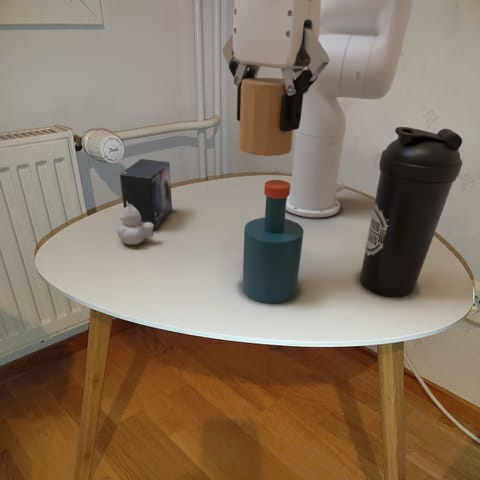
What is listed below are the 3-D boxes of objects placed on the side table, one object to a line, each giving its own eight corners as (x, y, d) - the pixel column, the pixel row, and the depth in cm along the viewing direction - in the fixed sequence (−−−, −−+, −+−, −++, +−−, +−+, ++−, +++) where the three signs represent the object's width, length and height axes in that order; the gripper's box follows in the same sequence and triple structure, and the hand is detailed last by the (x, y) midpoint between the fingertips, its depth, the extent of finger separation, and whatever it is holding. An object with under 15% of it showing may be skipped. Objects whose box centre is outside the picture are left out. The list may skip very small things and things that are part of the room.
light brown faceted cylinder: (264, 140, 60) (267, 76, 55) (301, 150, 56) (308, 82, 52) (229, 147, 56) (230, 79, 52) (266, 158, 52) (271, 86, 48)
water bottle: (349, 266, 72) (379, 120, 58) (409, 268, 71) (453, 123, 58) (361, 299, 63) (399, 138, 50) (428, 302, 63) (485, 141, 50)
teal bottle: (267, 269, 70) (274, 170, 60) (307, 289, 65) (322, 184, 56) (231, 287, 65) (232, 182, 55) (271, 310, 61) (281, 200, 51)
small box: (156, 231, 81) (151, 177, 74) (124, 228, 82) (116, 174, 75) (174, 211, 89) (170, 160, 83) (145, 208, 90) (139, 157, 84)
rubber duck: (122, 236, 79) (115, 194, 74) (157, 236, 79) (153, 195, 74) (116, 249, 74) (109, 206, 70) (153, 249, 75) (148, 206, 70)
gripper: (369, -61, 41) (339, 133, 52) (245, -50, 51) (240, 111, 62) (324, -72, 37) (301, 142, 47) (198, -58, 47) (201, 117, 57)
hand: (267, 123), depth 54 cm, fingers closed on light brown faceted cylinder, 6 cm apart
